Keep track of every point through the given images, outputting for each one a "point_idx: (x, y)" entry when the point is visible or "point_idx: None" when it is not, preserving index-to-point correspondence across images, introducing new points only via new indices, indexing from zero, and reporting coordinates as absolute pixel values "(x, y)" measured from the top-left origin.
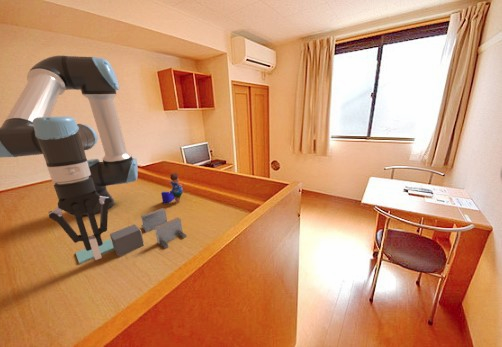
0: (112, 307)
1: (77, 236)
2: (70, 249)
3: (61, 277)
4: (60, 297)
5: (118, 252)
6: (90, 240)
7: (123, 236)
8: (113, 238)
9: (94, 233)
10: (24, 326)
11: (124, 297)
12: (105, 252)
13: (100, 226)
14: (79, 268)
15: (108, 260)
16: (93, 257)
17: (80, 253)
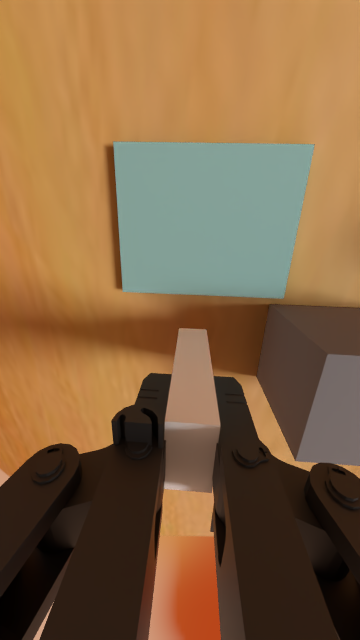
0: (166, 529)
1: (62, 574)
2: (89, 17)
3: (65, 325)
4: (71, 423)
5: (266, 392)
6: (172, 485)
7: (353, 464)
8: (303, 438)
9: (217, 551)
10: (12, 451)
11: (193, 526)
12: (233, 295)
13: (330, 535)
14: (122, 321)
15: (219, 363)
16: (180, 293)
17: (136, 189)
